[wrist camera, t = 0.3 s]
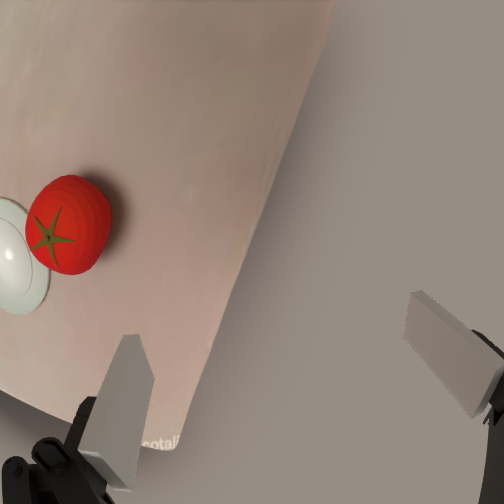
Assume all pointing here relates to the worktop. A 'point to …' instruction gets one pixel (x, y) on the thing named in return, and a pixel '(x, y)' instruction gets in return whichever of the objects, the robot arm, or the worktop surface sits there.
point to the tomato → (68, 225)
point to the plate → (19, 263)
